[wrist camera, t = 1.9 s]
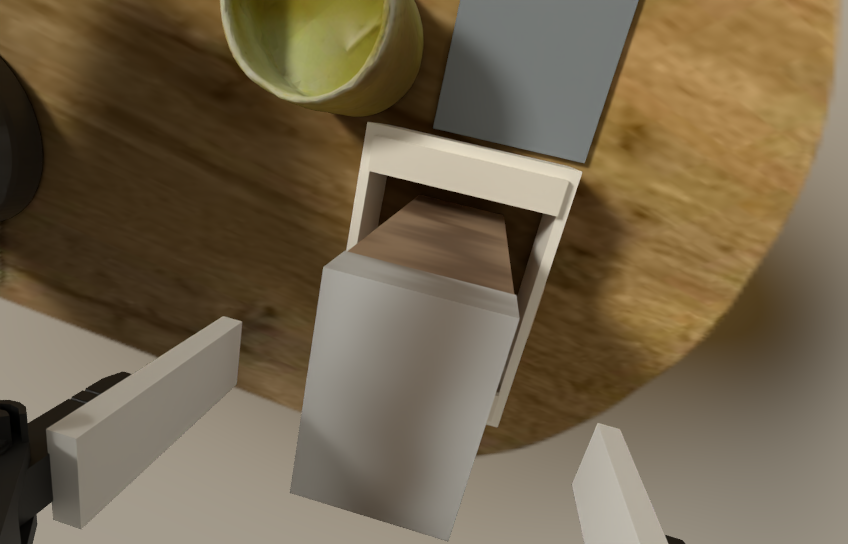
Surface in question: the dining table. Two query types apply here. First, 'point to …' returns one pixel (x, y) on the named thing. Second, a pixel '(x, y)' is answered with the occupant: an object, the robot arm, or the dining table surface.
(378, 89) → the mug
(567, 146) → the mat
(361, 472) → the walnut box
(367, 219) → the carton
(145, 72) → the dining table surface
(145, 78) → the dining table surface
